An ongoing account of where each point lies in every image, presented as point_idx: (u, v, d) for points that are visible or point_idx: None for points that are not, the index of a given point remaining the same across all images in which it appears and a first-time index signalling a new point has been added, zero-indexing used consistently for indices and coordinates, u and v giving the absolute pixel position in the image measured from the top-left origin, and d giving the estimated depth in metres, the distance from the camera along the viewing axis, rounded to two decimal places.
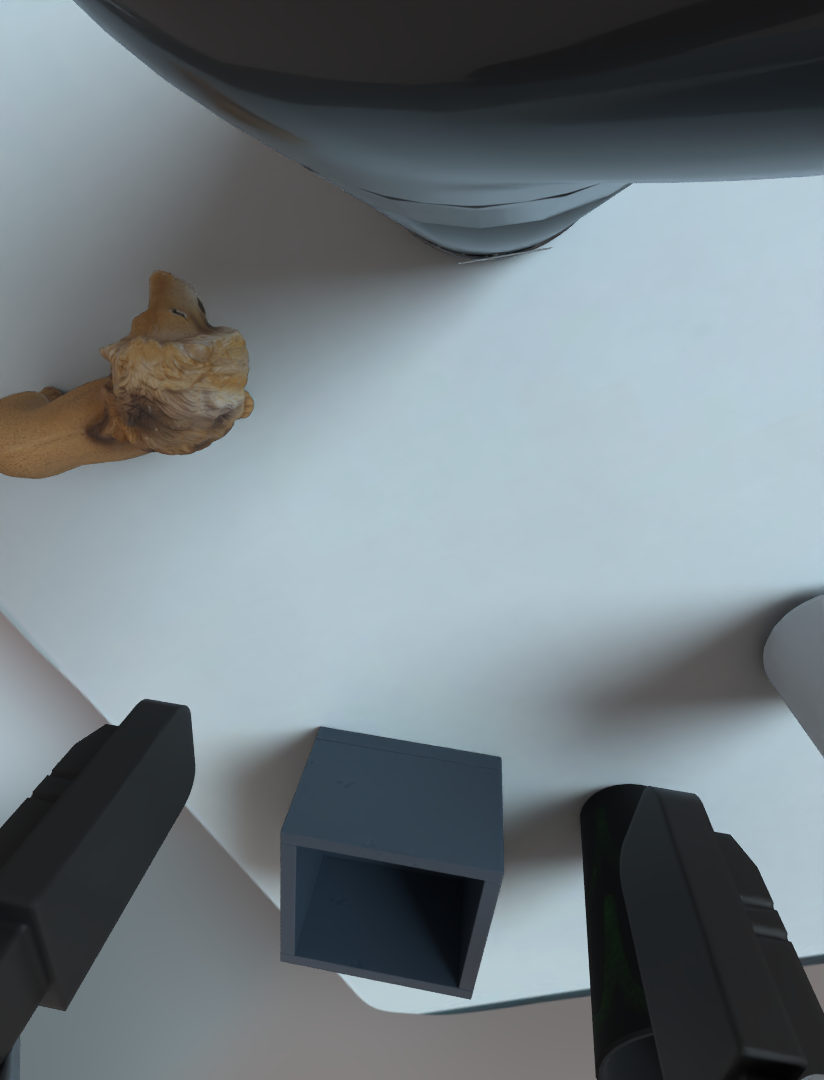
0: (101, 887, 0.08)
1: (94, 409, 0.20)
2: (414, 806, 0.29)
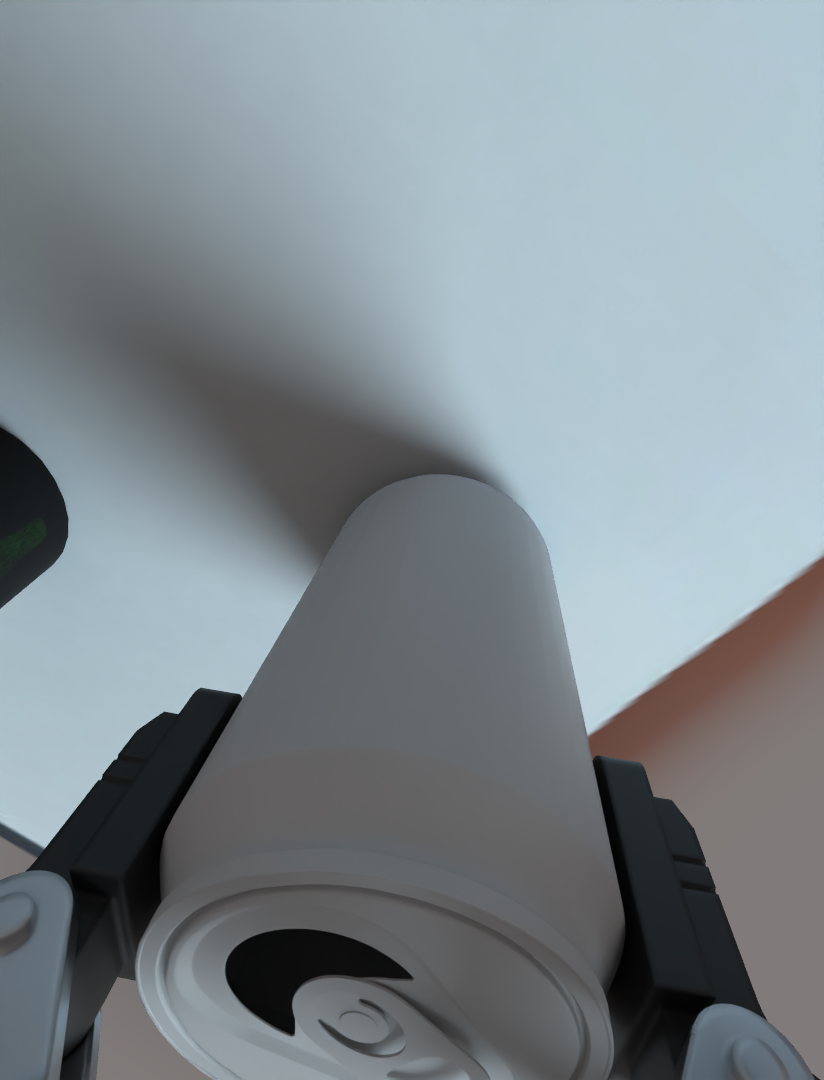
0: None
1: None
2: None
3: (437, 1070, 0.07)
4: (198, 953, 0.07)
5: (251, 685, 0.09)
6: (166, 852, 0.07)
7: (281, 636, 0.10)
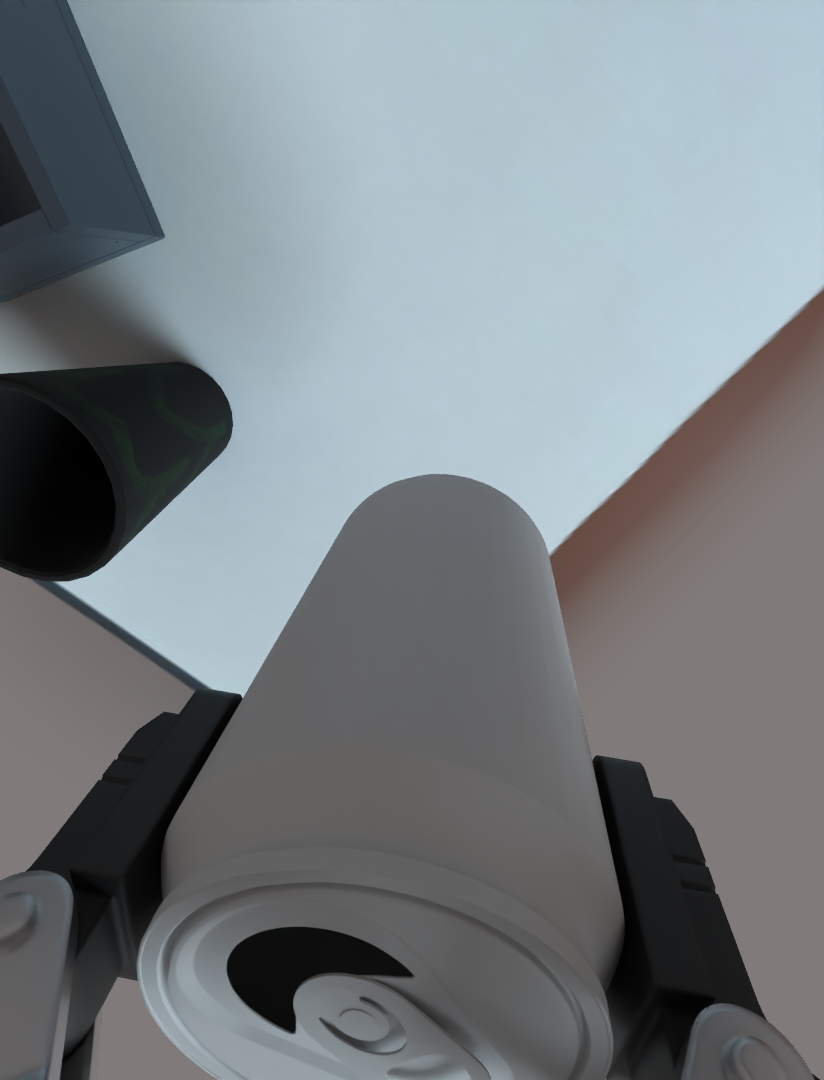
0: None
1: None
2: (56, 102, 0.22)
3: (437, 1067, 0.07)
4: (199, 951, 0.07)
5: (252, 685, 0.09)
6: (167, 851, 0.07)
7: (281, 636, 0.10)
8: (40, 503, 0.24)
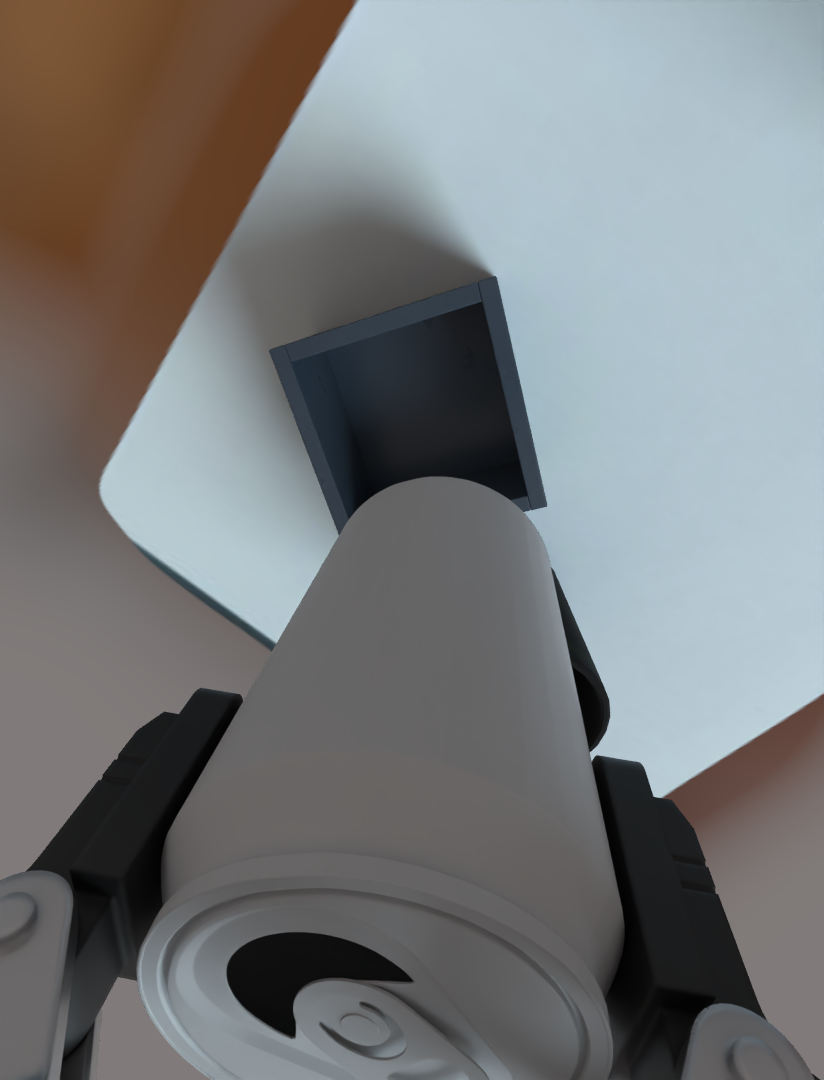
0: None
1: None
2: None
3: (437, 1071, 0.07)
4: (199, 956, 0.07)
5: (252, 688, 0.09)
6: (167, 855, 0.07)
7: (281, 639, 0.10)
8: None
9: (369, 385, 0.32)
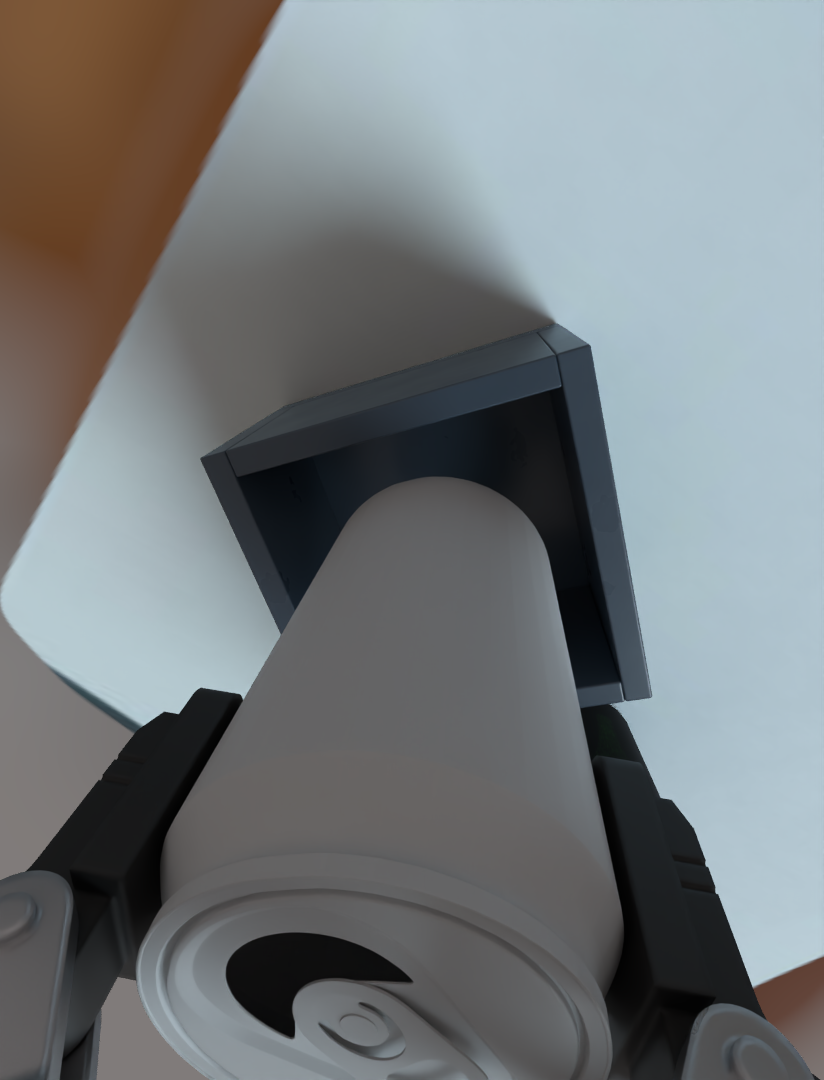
0: None
1: None
2: None
3: (436, 1072, 0.07)
4: (197, 956, 0.07)
5: (251, 688, 0.09)
6: (167, 855, 0.07)
7: (281, 639, 0.10)
8: None
9: (367, 479, 0.22)
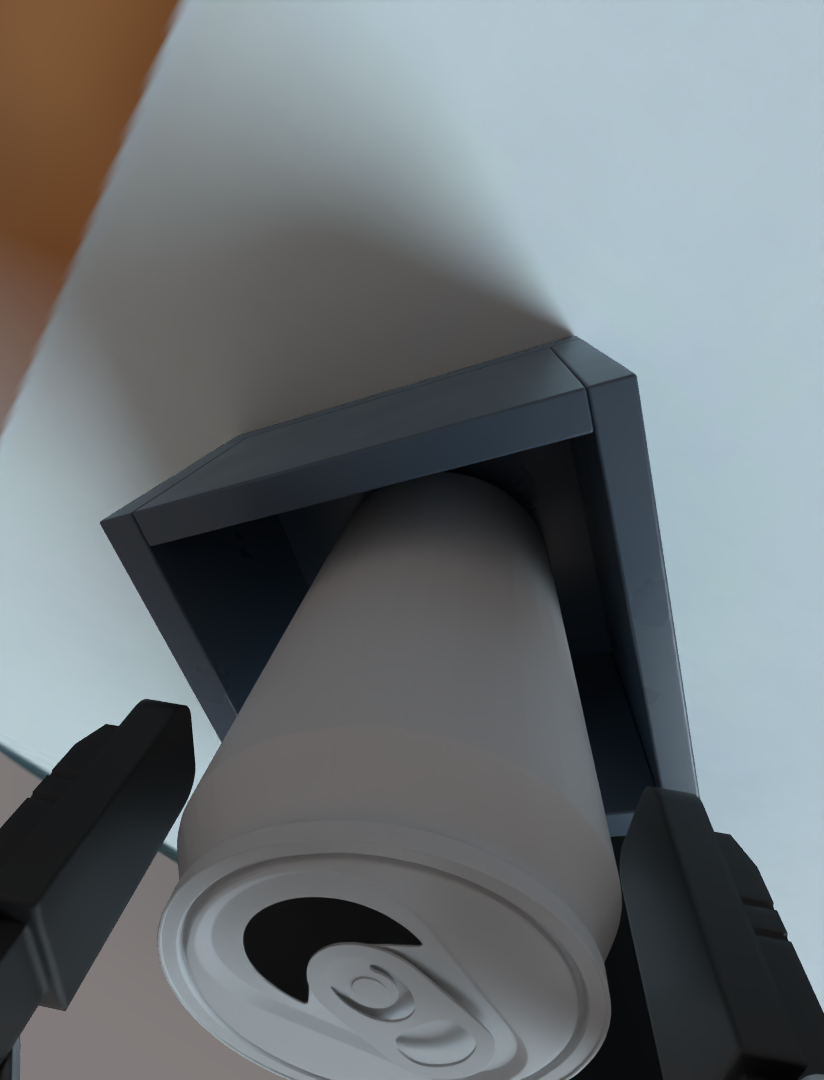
0: (100, 887, 0.08)
1: None
2: None
3: (443, 1035, 0.07)
4: (217, 922, 0.07)
5: (262, 674, 0.10)
6: (185, 830, 0.08)
7: (290, 628, 0.11)
8: None
9: (339, 526, 0.18)
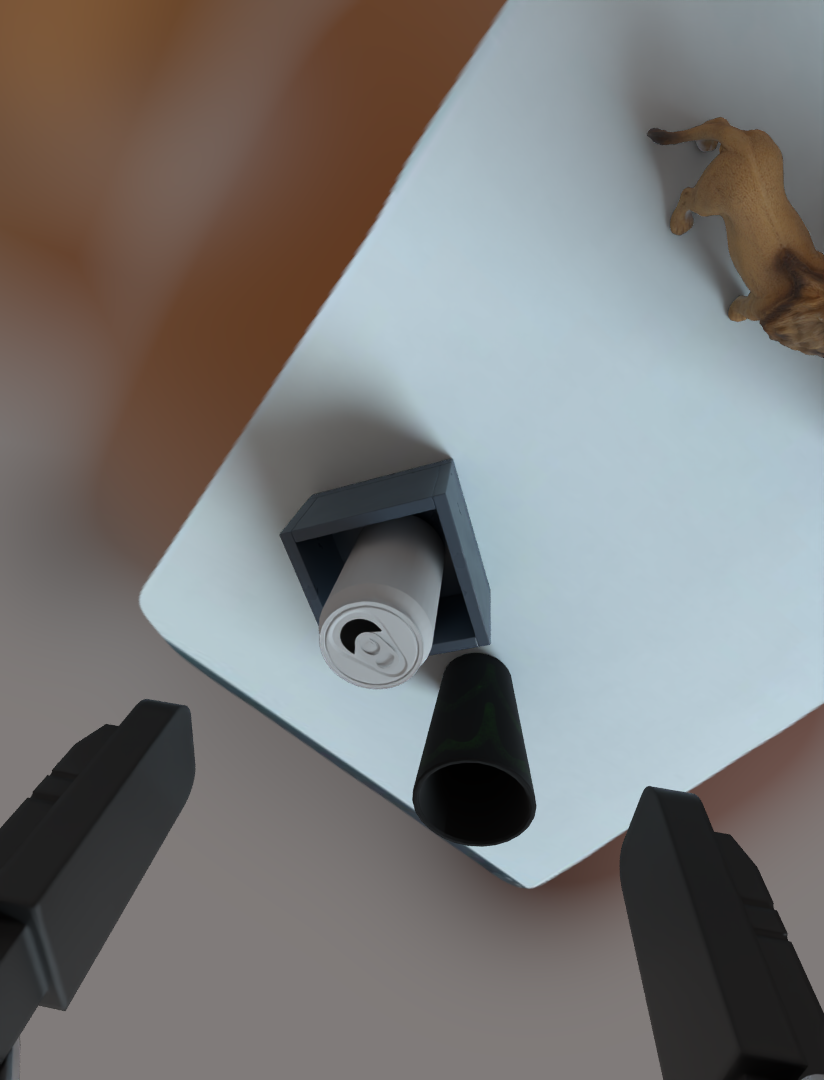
0: (101, 887, 0.08)
1: (804, 252, 0.26)
2: (473, 564, 0.37)
3: (387, 660, 0.30)
4: (334, 629, 0.30)
5: (337, 580, 0.33)
6: (323, 612, 0.31)
7: (344, 568, 0.34)
8: (438, 780, 0.39)
9: (356, 534, 0.41)
